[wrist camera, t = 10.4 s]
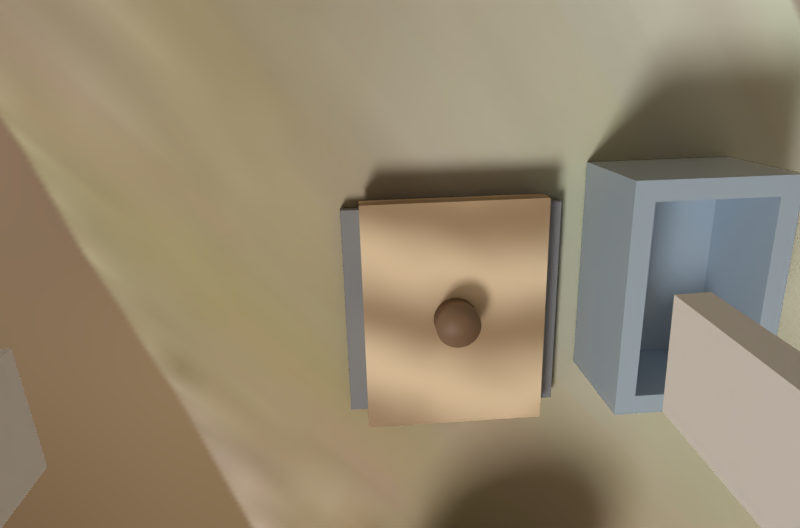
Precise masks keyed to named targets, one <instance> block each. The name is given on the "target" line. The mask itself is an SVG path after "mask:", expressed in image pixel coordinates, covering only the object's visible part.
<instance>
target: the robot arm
mask: <svg viewBox="0 0 800 528" xmlns="http://www.w3.org/2000/svg"><path fill="white" fill-rule="evenodd" d="M662 412H663V413H664V414H665V415H666V416H667V418H668V419H669V420H670V421H671V422H672V423H673V425H674V426H675V427H676V428H677V429H678V430H679V432H680V433H681V434H682V435H683V436H684V438H685V439H686V440H687V441H688V442H689V443H690V445H691V446H692V447H693V448H694V449H695V450H696V452H697V453H698V454H699V455H700V456H701V457H702V459H703V460H704V461H705V462H706V463H707V465H708V466H709V467H710V468H711V469H712V470H713V472H714V473H715V474H716V475H717V476H718V477H719V479H720V480H721V481H722V482H723V483H724V484H725V486H726V487H727V488H728V489H729V490H730V492H731V493H732V494H733V495H734V496H735V497H736V499H737V500H738V501H739V502H740V503H741V504H742V506H743V507H744V508H745V509H746V510H747V511H748V513H749V514H750V515H751V516H752V517H753V519H754V520H755V521H756V522H757V523H758V524H759V526H760V527H761V528H800V352H799V351H798V350H796V349H795V348H793V347H792V346H791V345H789V344H788V343H786V342H785V341H783V340H782V339H780V338H779V337H777V336H776V335H774V334H773V333H771V332H770V331H768V330H767V329H765V328H764V327H762V326H761V325H759V324H758V323H756V322H755V321H754V320H752V319H751V318H749V317H748V316H746V315H745V314H743V313H742V312H740V311H739V310H737V309H736V308H734V307H733V306H731V305H730V304H728V303H727V302H725V301H724V300H722V299H721V298H719V297H718V296H717V295H715V294H714V293H712V292H702V293H689V294H677V295H674V302H673V312H672V322H671V331H670V341H669V351H668V361H667V371H666V380H665V390H664V400H663V410H662ZM46 468H47V465H46V462H45V458H44V455H43V452H42V449H41V445H40V442H39V439H38V435H37V432H36V429H35V426H34V422H33V419H32V416H31V412H30V409H29V406H28V403H27V399H26V396H25V393H24V389H23V386H22V383H21V380H20V376H19V373H18V370H17V367H16V364H15V360H14V357H13V353H12V350H11V348H10V349H0V528H2V526H3V525H4V524H5V523H6V521H7V520H8V519H9V517H10V516H11V515H12V513H13V512H14V511H15V509H16V508H17V506H18V505H19V504H20V502H21V501H22V500H23V498H24V497H25V496H26V494H27V493H28V492H29V490H30V489H31V488H32V486H33V485H34V484H35V482H36V481H37V480H38V478H39V477H40V476H41V474H42V473H43V471H44V470H45V469H46Z"/></svg>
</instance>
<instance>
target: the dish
mask: <svg viewBox="0 0 800 528" xmlns="http://www.w3.org/2000/svg"><path fill="white" fill-rule="evenodd" d="M799 210H800V173H798V172H794V171H790V170H785V169H781V168H776V167H772V166H767V165H763V164H759V163H754V162H750V161H745V160H741V159H736V158H732V157H708V158H681V159H654V160H628V161H601V162H587V171H586V185H585V200H584V214H583V229H582V244H581V258H580V273H579V288H578V302H577V317H576V332H575V346H574V363H575V364H576V365H577V366H578V368H579V369H580V370H581V372H582V373H583V374H584V376H585V377H586V378H587V380H588V381H589V382H590V383H591V385H592V386H593V387H594V389H595V390H596V391H597V393H598V394H599V395H600V397H601V398H602V399H603V400H604V402H605V403H606V404H607V406H608V407H609V408H610V410H611V411H612V412H613V414H614V415H617V414H632V413H648V412H662V410H663V400H664V390H665V380H666V371H667V361H668V351H669V341H670V331H671V322H672V312H673V302H674V295H677V294H689V293H702V292H712V293H714V294H715V295H717V296H718V297H719V298H721V299H722V300H724V301H725V302H727V303H728V304H730V305H731V306H733V307H734V308H736V309H737V310H739V311H740V312H742V313H743V314H745V315H746V316H748V317H749V318H751V319H752V320H754V321H755V322H756V323H758V324H759V325H761V326H762V327H764V328H765V329H767V330H768V331H770V332H771V333H773V334H774V335H776V336H777V333H778V327H779V322H780V316H781V311H782V305H783V299H784V294H785V288H786V283H787V277H788V272H789V266H790V260H791V255H792V249H793V244H794V238H795V233H796V227H797V221H798V216H799Z"/></svg>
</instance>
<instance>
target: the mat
mask: <svg viewBox="0 0 800 528" xmlns="http://www.w3.org/2000/svg"><path fill="white" fill-rule="evenodd" d="M561 204H562V201H560V200H558V199H554V200H551V205H550V225H549V244H548V264H547V283H546V303H545V322H544V342H543V362H542V381H541V398H543V397H551V381H552V363H553V345H554V328H555V310H556V292H557V275H558V257H559V240H560V222H561ZM340 219H341V236H342V254H343V271H344V289H345V306H346V323H347V341H348V358H349V376H350V393H351V410H352V409H368V392H367V371H366V350H365V329H364V308H363V287H362V266H361V245H360V224H359V208H340Z"/></svg>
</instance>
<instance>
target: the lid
mask: <svg viewBox="0 0 800 528" xmlns="http://www.w3.org/2000/svg"><path fill="white" fill-rule="evenodd" d="M358 203H359V224H360V245H361V266H362V287H363V308H364V329H365V350H366V371H367V392H368V413H369V427H382V426H398V425H413V424H429V423H444V422H460V421H475V420H491V419H506V418H522V417H537V416H540V401H541V381H542V362H543V342H544V322H545V303H546V283H547V264H548V244H549V225H550V205H551V198H550V197H549V196H547V195H546V194H544V193H543V194H519V195H494V196H470V197H445V198H420V199H396V200H371V201H358Z"/></svg>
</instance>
